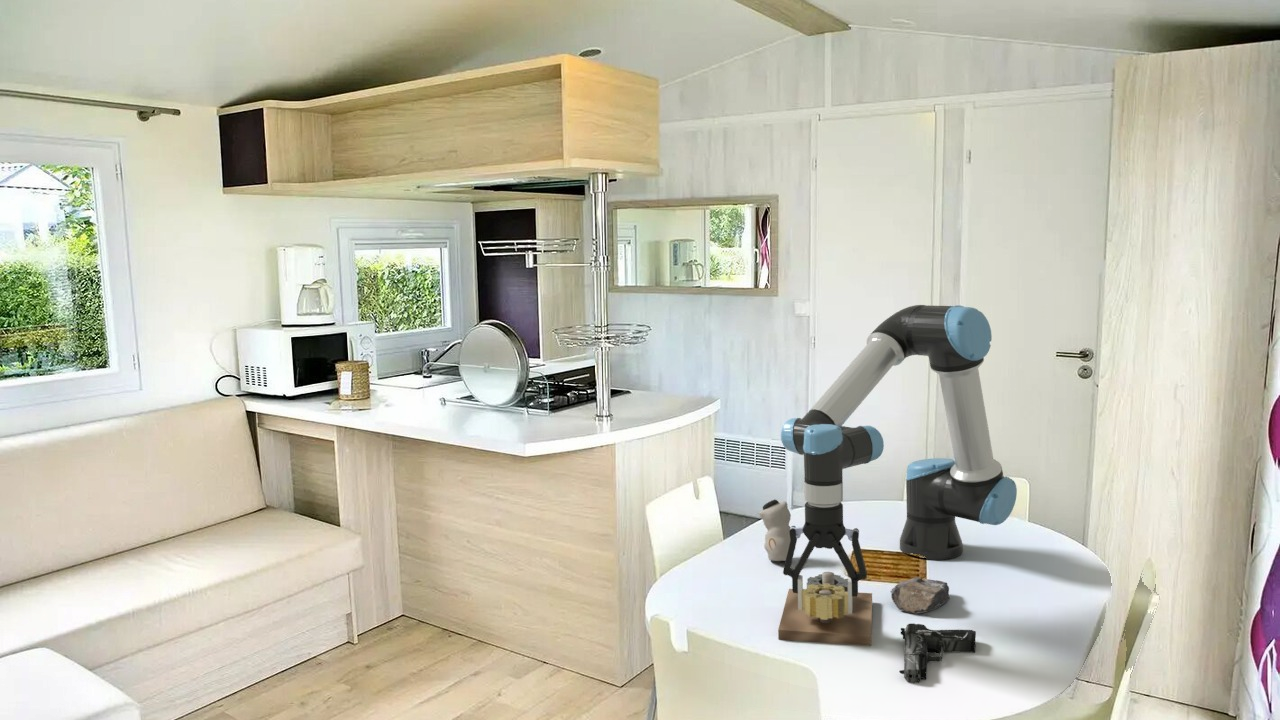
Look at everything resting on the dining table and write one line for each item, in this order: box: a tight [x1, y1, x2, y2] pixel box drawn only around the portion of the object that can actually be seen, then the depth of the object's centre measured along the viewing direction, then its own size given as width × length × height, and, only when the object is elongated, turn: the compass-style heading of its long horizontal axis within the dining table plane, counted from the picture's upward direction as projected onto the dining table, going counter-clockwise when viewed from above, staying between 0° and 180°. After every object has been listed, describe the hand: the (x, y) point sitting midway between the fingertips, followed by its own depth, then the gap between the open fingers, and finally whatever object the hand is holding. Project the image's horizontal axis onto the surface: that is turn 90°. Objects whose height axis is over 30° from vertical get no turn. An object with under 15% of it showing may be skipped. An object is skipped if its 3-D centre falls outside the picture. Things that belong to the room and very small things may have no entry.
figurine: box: [758, 499, 792, 562], centre depth 225 cm, size 9×10×15 cm
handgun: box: [899, 623, 977, 683], centre depth 170 cm, size 20×3×14 cm
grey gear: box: [806, 573, 848, 592], centre depth 194 cm, size 9×9×4 cm
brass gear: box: [802, 583, 848, 620], centre depth 184 cm, size 9×9×4 cm
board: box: [777, 571, 873, 647], centre depth 189 cm, size 18×22×8 cm
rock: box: [890, 576, 951, 614], centre depth 196 cm, size 14×11×5 cm
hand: (825, 609), depth 184 cm, fingers closed on brass gear, 9 cm apart
